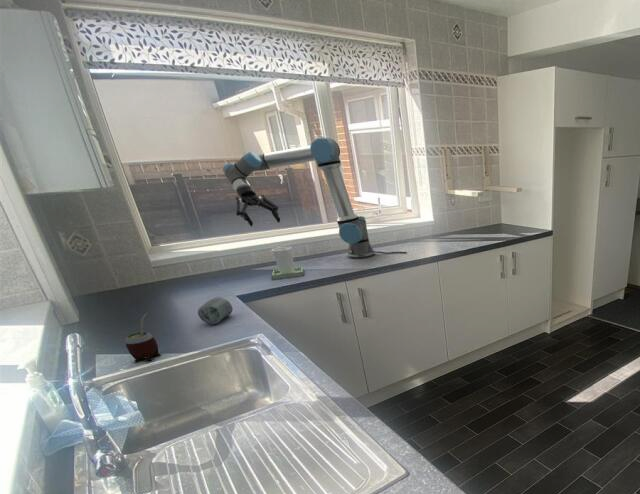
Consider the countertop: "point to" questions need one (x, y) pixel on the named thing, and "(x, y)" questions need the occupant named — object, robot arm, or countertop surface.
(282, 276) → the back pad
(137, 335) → the mate gourd
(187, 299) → the countertop surface
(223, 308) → the grey rolled towel
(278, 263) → the foam cup
